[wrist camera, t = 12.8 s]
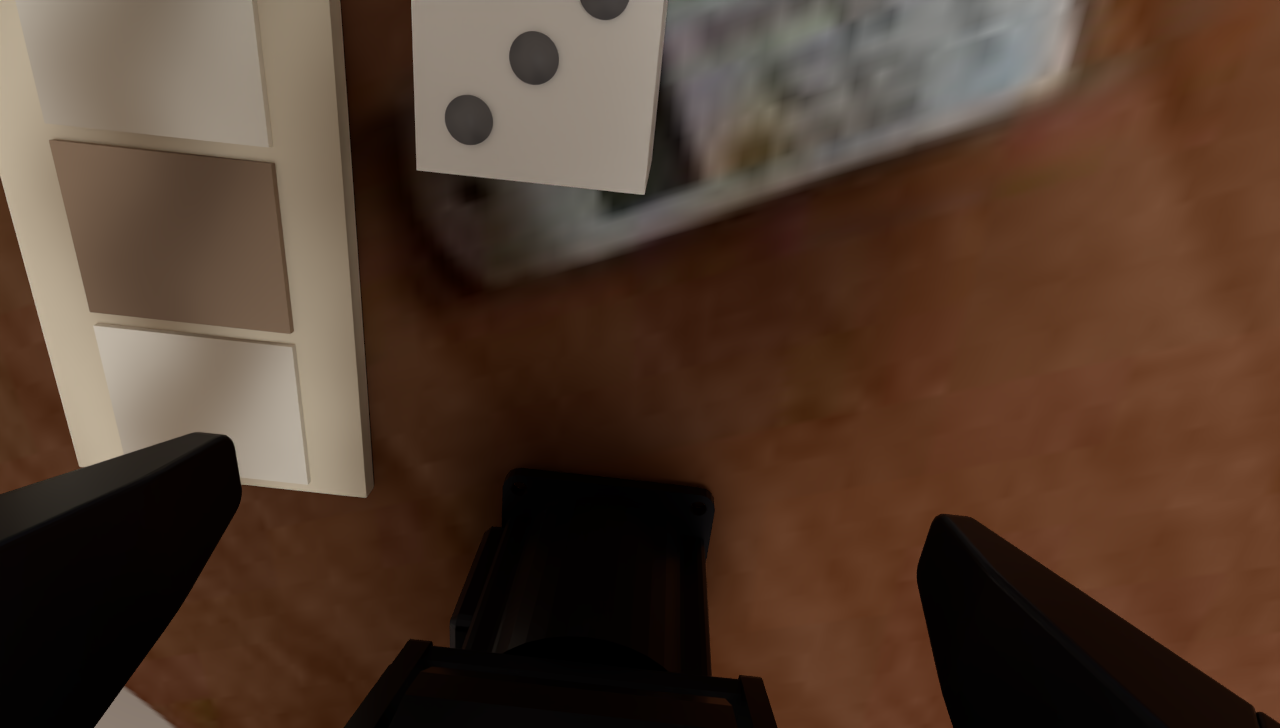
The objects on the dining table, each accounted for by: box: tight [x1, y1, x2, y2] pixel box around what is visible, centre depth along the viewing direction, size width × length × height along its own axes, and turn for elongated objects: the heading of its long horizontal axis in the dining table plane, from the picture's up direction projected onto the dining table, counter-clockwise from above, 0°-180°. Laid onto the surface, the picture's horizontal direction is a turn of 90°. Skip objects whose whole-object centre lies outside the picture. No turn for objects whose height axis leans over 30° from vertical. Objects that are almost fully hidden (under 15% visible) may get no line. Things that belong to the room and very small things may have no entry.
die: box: [411, 0, 668, 195], centre depth 15 cm, size 4×4×5 cm
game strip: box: [0, 0, 374, 498], centre depth 18 cm, size 9×20×1 cm, turn 174°
